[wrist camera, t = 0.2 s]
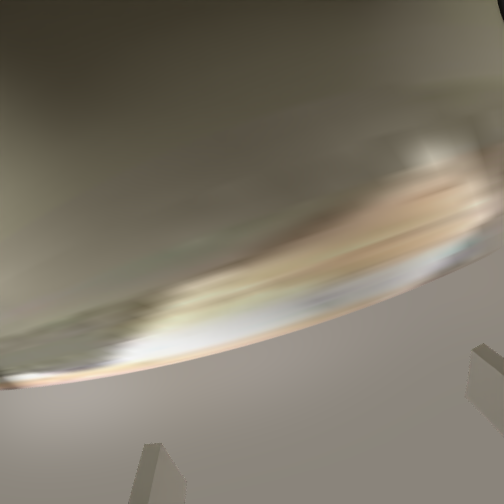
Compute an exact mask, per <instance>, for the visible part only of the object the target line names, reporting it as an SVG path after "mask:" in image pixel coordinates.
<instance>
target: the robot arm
mask: <svg viewBox="0 0 504 504" xmlns="http://www.w3.org/2000/svg"><path fill="white" fill-rule="evenodd" d="M465 398H466V399H468V401H469V402H470V403H471V404H472V405H473V406H474V407H475V408H476V409H477V410H478V411H479V412H480V413H481V414H482V415H483V416H484V417H485V418H486V419H487V420H488V421H489V422H490V423H491V424H492V425H493V426H494V427H495V428H496V430H498V432H499V433H500V434H501V435H502V436H503V437H504V358H503V357H502V356H500V355H499V354H498V353H496V352H495V351H494V350H492V349H491V348H489V347H488V346H487V345H485V344H484V343H483V344H481V345H479V346H477V347H476V348H474V349H472V350H471V356H470V365H469V372H468V379H467V386H466V392H465ZM186 486H187V481H186V479H185V478H184V476H183V475H182V474H181V472H180V471H179V469H178V468H177V466H176V465H175V463H174V462H173V460H172V459H171V457H170V456H169V454H168V453H167V451H166V449H165V448H164V446H163V445H162V443H155V444H145V445H144V448H143V451H142V455H141V459H140V462H139V466H138V469H137V473H136V476H135V480H134V483H133V487H132V491H131V495H130V499H129V502H128V504H185V495H186Z"/></svg>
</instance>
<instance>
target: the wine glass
mask: <svg viewBox="0 0 504 504" xmlns="http://www.w3.org/2000/svg"><path fill="white" fill-rule="evenodd" d="M498 4H499V7H500V11H501V14H502V17H503V19H504V0H498Z"/></svg>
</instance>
